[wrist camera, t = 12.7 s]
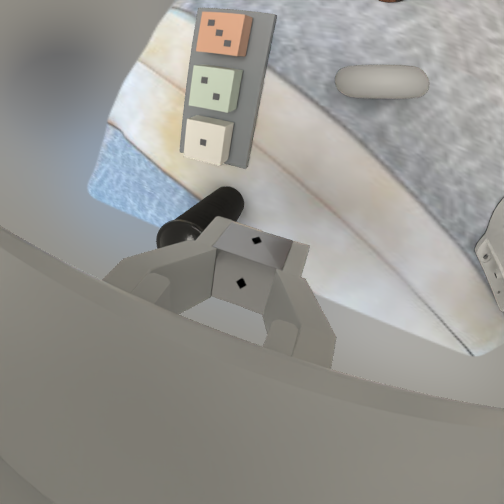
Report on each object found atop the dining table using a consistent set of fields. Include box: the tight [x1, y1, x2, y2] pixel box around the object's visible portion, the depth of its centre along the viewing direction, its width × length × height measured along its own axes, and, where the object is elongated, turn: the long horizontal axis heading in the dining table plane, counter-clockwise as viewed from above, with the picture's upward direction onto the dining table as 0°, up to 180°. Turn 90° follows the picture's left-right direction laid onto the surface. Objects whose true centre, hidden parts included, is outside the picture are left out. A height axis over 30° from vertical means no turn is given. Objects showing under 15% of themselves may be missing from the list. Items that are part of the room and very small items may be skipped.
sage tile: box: [189, 65, 243, 113], centre depth 34 cm, size 5×5×3 cm
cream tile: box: [183, 115, 234, 166], centre depth 38 cm, size 5×5×3 cm
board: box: [180, 8, 277, 169], centre depth 35 cm, size 21×10×2 cm, turn 170°
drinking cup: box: [156, 187, 244, 249], centre depth 38 cm, size 8×8×20 cm
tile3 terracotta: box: [196, 12, 253, 56], centre depth 30 cm, size 5×5×3 cm
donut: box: [335, 65, 429, 99], centre depth 26 cm, size 10×4×10 cm, turn 100°
